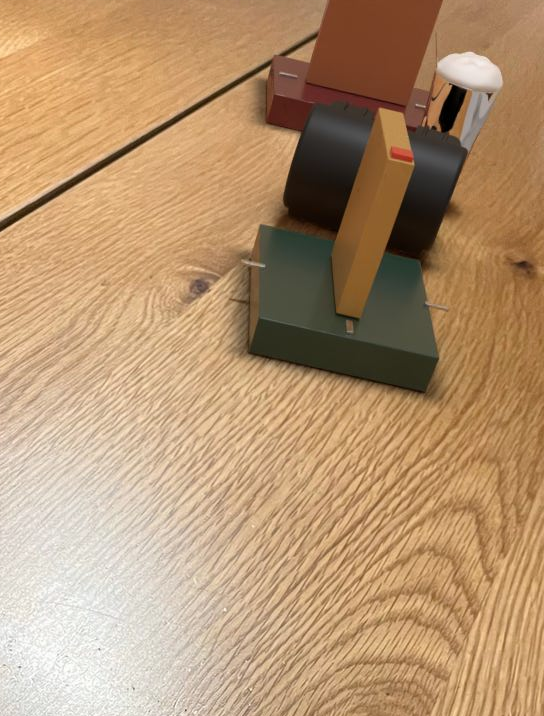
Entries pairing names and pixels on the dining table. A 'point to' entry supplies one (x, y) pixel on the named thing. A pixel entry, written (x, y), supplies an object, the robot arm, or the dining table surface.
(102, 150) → the dining table surface
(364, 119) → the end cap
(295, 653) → the dining table surface
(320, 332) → the green pinned base
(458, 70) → the milkshake
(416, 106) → the dark red base box
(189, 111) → the dining table surface
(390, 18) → the upright brown plank
